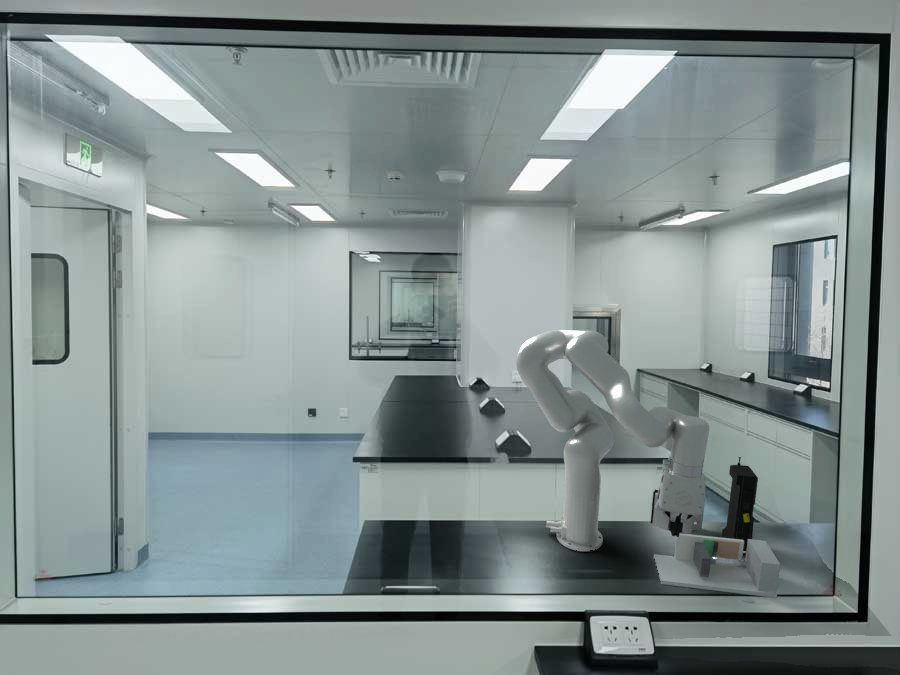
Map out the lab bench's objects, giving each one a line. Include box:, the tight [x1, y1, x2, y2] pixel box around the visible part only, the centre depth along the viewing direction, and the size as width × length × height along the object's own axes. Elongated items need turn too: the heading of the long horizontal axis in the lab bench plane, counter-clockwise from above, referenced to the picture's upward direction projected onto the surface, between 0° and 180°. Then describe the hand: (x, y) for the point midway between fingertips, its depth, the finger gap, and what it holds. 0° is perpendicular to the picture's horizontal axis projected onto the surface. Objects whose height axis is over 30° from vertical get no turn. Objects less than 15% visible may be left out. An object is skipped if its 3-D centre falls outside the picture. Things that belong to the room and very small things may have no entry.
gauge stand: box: [653, 532, 781, 599], centre depth 137 cm, size 26×11×8 cm, turn 79°
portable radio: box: [721, 456, 759, 551], centre depth 148 cm, size 8×6×25 cm
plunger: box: [693, 542, 746, 577], centre depth 137 cm, size 11×7×6 cm, turn 79°
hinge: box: [650, 488, 706, 535], centre depth 159 cm, size 14×5×10 cm, turn 69°
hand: (674, 533), depth 138 cm, fingers closed
